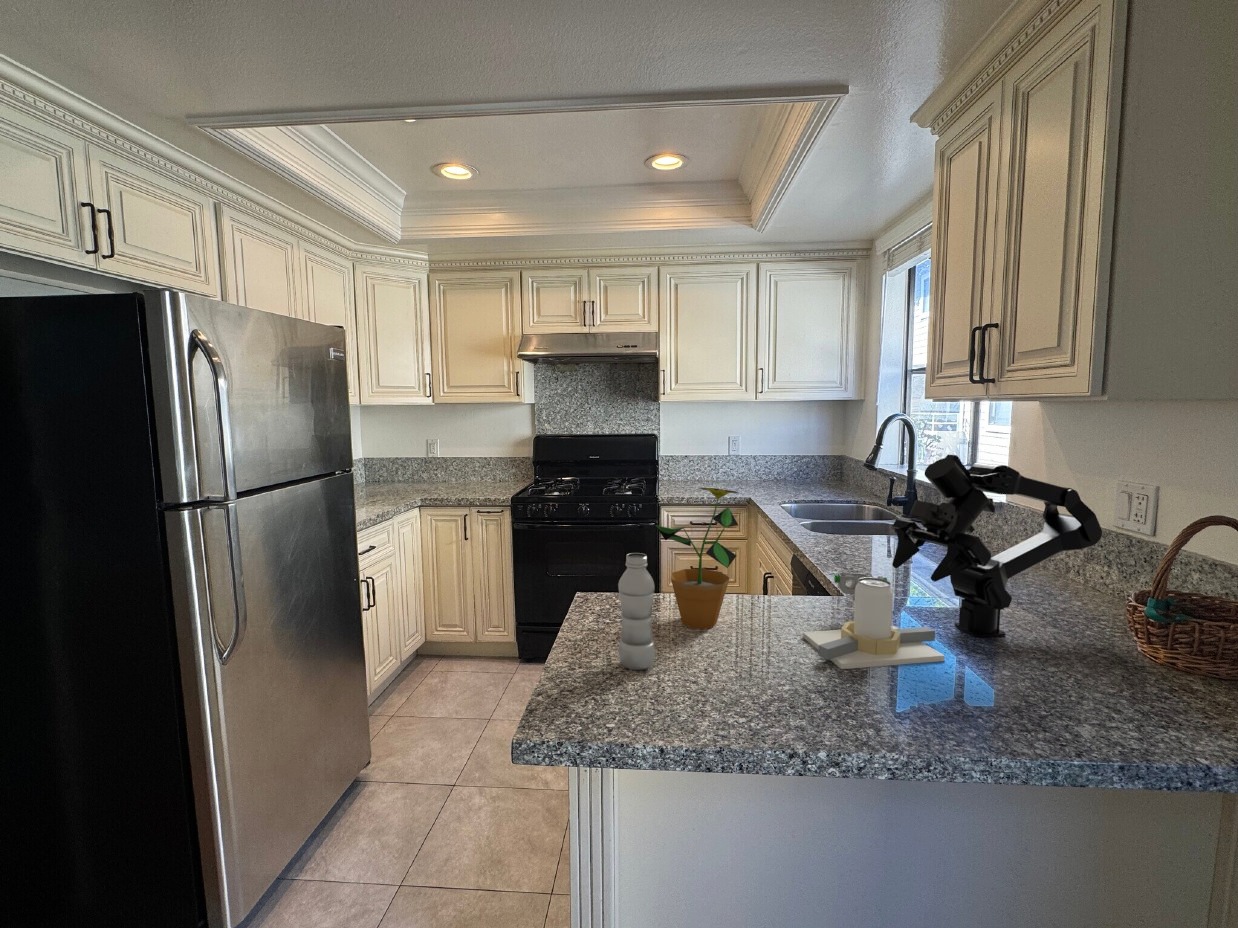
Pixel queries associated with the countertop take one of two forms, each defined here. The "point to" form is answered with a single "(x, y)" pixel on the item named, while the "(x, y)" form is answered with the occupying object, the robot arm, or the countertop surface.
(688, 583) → the potted plant
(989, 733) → the countertop surface
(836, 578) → the mechanical component
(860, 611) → the can
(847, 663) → the octagonal ring fixture plate
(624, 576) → the plastic bottle
